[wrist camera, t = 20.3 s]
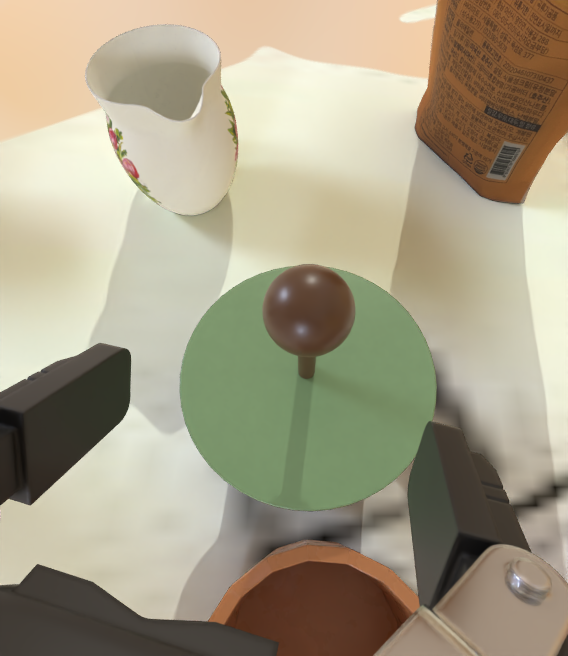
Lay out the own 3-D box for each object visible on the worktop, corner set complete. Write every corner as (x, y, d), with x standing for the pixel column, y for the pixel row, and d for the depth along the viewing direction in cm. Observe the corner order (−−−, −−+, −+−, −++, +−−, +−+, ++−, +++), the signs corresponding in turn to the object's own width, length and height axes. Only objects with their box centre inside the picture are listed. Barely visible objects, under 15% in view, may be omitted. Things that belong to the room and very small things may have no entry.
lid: (167, 307, 26) (96, 189, 17) (376, 253, 27) (414, 116, 18) (211, 548, 20) (137, 565, 11) (475, 466, 21) (604, 421, 12)
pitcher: (206, 116, 48) (173, -26, 36) (274, 224, 41) (263, 93, 29) (115, 149, 46) (48, 11, 34) (170, 268, 39) (109, 148, 27)
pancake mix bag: (497, 233, 40) (842, -284, 14) (378, 118, 47) (469, -356, 22) (549, 204, 41) (952, -318, 16) (426, 96, 48) (563, -375, 23)
